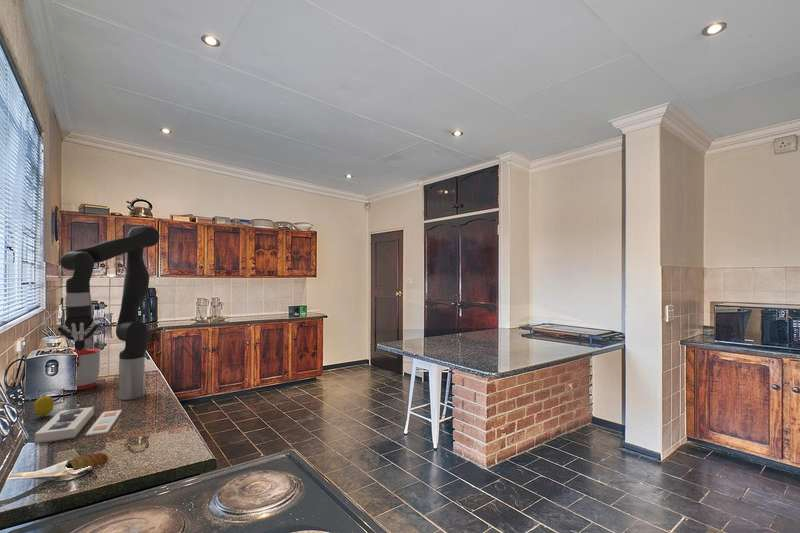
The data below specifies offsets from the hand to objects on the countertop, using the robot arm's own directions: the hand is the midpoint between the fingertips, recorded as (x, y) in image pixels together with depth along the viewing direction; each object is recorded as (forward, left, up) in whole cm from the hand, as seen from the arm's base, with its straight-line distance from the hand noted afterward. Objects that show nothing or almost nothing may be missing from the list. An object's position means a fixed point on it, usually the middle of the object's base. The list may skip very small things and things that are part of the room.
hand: (79, 349), depth 150 cm
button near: (0, +19, -24) cm, 31 cm away
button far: (0, +5, -24) cm, 25 cm away
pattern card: (-11, +12, -25) cm, 30 cm away
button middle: (0, +12, -23) cm, 26 cm away
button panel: (0, +12, -25) cm, 28 cm away
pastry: (-14, +49, -26) cm, 57 cm away
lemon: (+12, -5, -25) cm, 28 cm away
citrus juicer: (+11, -44, -25) cm, 52 cm away
